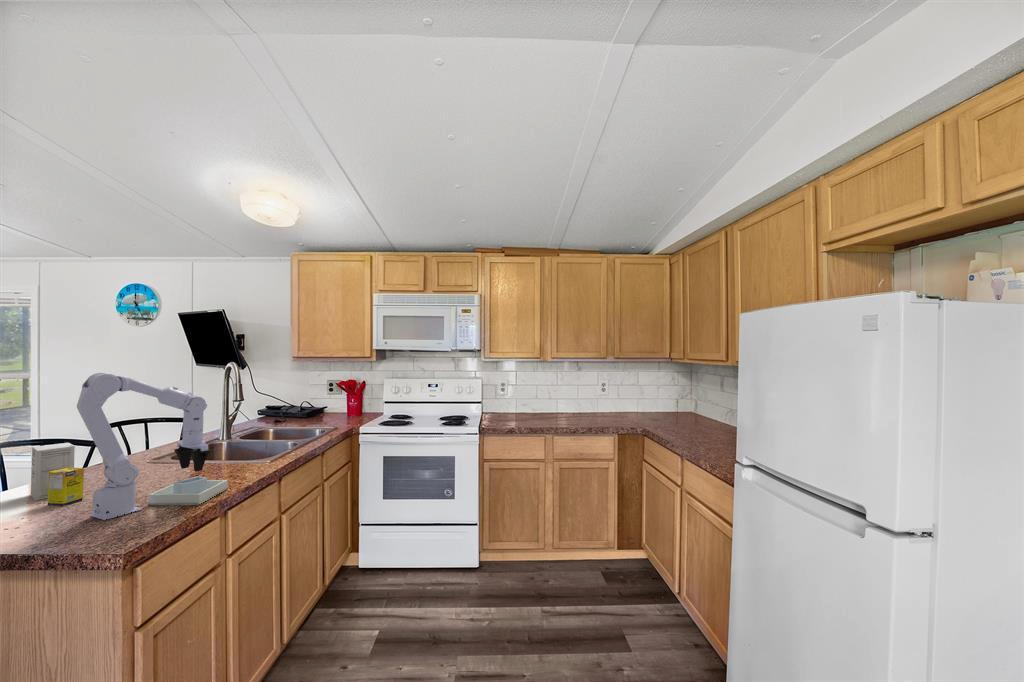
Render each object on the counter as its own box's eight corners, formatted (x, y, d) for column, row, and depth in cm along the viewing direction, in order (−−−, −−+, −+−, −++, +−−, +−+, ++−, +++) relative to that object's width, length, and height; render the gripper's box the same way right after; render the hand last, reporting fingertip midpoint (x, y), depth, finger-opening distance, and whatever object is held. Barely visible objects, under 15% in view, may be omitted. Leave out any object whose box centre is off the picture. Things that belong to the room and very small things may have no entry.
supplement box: (83, 500, 144) (84, 467, 145) (63, 506, 138) (64, 472, 139) (67, 499, 145) (69, 466, 145) (46, 505, 139) (48, 471, 139)
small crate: (181, 499, 144) (182, 484, 145) (173, 497, 146) (173, 482, 147) (206, 492, 152) (207, 478, 152) (198, 490, 154) (198, 476, 154)
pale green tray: (199, 505, 142) (199, 494, 142) (147, 505, 140) (148, 494, 140) (227, 489, 158) (227, 479, 158) (181, 489, 156) (182, 480, 156)
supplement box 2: (68, 488, 156) (70, 441, 157) (74, 493, 151) (76, 445, 151) (29, 495, 148) (31, 446, 149) (34, 500, 143) (36, 450, 144)
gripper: (217, 430, 151) (216, 469, 150) (192, 426, 157) (191, 464, 156) (196, 433, 144) (194, 474, 144) (170, 429, 150) (169, 468, 150)
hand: (191, 469), depth 150 cm, fingers open, 7 cm apart
